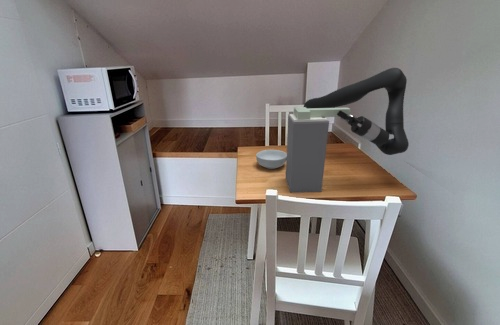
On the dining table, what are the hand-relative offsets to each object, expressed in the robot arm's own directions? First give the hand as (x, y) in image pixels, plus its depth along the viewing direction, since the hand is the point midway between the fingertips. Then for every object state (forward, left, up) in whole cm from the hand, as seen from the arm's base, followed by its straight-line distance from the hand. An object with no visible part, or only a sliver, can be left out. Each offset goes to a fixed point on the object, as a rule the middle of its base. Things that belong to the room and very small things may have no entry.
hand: (334, 110), depth 100 cm
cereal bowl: (-30, -15, -35) cm, 48 cm away
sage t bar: (-2, -5, -2) cm, 6 cm away
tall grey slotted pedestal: (-4, -11, -35) cm, 37 cm away
